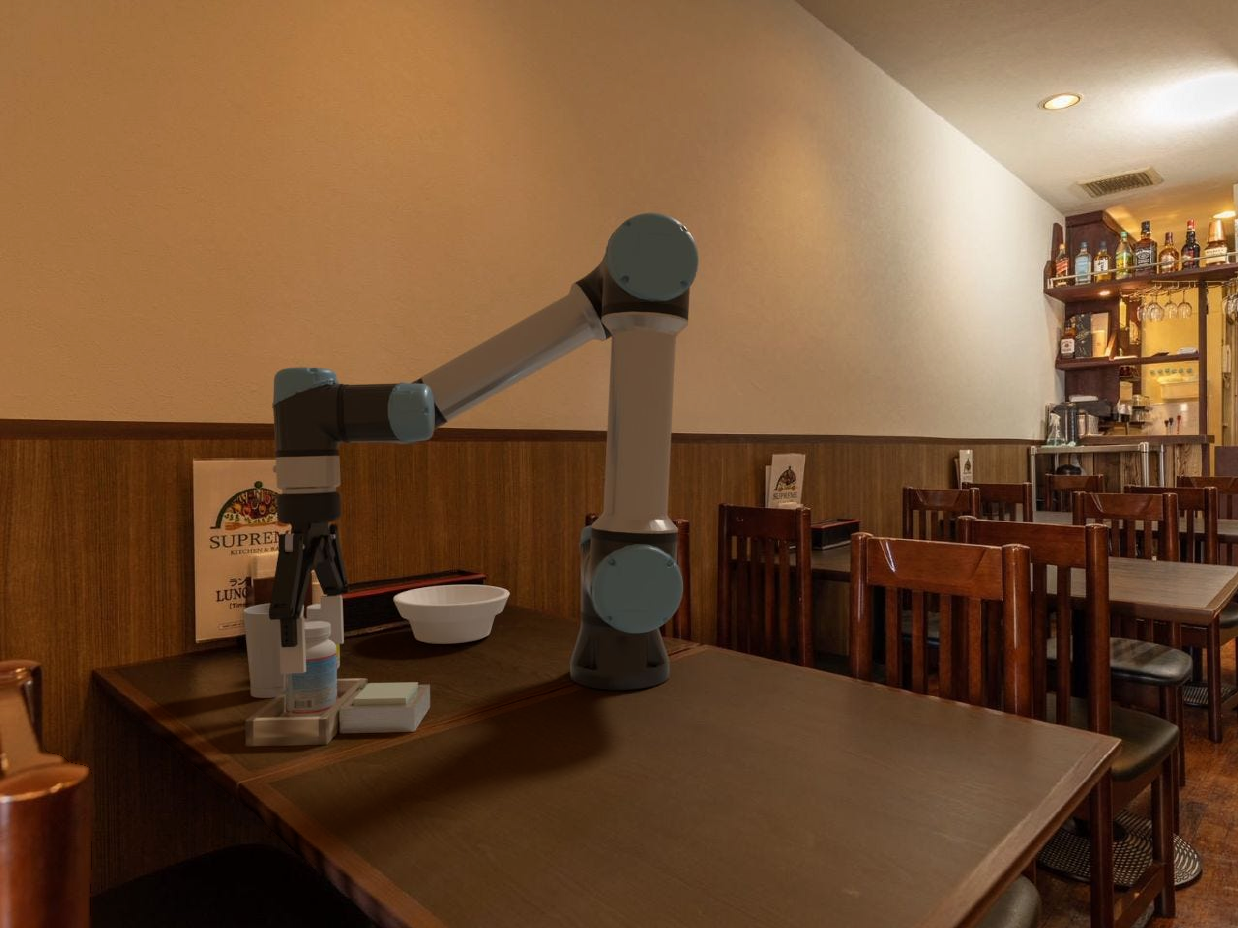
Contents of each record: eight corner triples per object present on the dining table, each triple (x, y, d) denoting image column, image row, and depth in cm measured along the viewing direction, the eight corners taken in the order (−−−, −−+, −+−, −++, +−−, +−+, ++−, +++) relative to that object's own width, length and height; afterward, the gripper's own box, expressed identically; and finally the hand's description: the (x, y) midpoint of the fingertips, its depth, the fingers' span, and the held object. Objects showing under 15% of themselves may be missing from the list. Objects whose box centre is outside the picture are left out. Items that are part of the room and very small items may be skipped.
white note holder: (430, 706, 100) (430, 681, 100) (414, 731, 91) (414, 704, 91) (361, 707, 100) (360, 683, 100) (338, 733, 91) (337, 706, 91)
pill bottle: (347, 709, 97) (347, 622, 97) (309, 724, 91) (309, 632, 91) (313, 702, 99) (313, 618, 99) (274, 716, 94) (274, 627, 94)
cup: (281, 701, 103) (280, 614, 103) (231, 697, 105) (230, 612, 105) (316, 683, 111) (315, 603, 111) (268, 681, 113) (267, 601, 112)
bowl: (531, 630, 144) (530, 588, 144) (465, 658, 125) (465, 609, 125) (442, 621, 153) (441, 581, 152) (368, 646, 133) (367, 600, 133)
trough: (367, 699, 103) (367, 678, 103) (326, 744, 87) (326, 718, 87) (299, 701, 103) (298, 679, 103) (245, 746, 87) (245, 720, 87)
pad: (417, 691, 99) (417, 682, 99) (405, 707, 93) (405, 697, 92) (369, 692, 99) (368, 683, 99) (353, 708, 92) (353, 698, 92)
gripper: (315, 487, 107) (320, 634, 108) (231, 497, 82) (238, 688, 83) (367, 485, 108) (372, 632, 108) (300, 495, 83) (307, 686, 83)
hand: (314, 657), depth 95 cm, fingers open, 13 cm apart
